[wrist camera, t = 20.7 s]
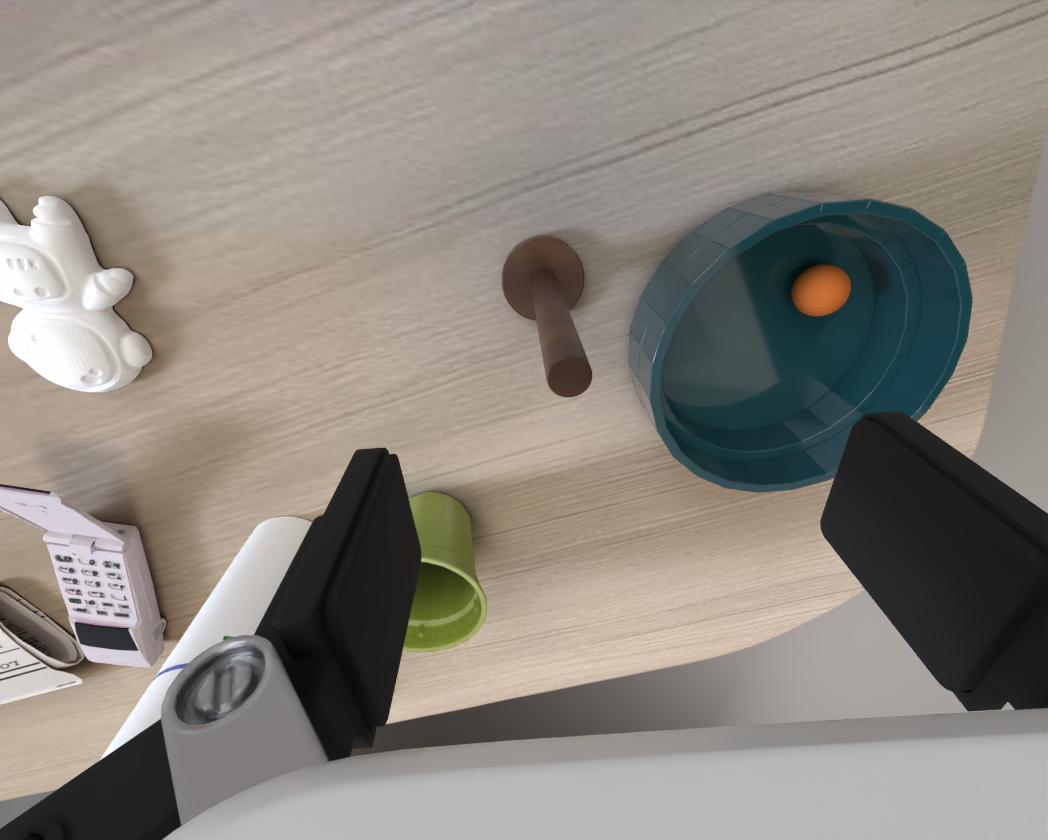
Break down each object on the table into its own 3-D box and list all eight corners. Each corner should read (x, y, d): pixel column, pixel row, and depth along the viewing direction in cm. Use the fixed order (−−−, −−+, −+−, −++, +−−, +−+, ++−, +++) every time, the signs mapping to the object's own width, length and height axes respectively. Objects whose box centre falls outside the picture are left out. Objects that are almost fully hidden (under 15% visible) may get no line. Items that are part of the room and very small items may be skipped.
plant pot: (470, 571, 42) (462, 664, 34) (363, 545, 40) (330, 637, 32) (506, 492, 38) (506, 578, 30) (389, 459, 36) (358, 542, 28)
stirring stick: (500, 236, 28) (493, 309, 15) (583, 234, 28) (648, 304, 15) (503, 319, 31) (501, 441, 18) (581, 316, 31) (634, 435, 18)
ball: (848, 249, 26) (865, 300, 26) (832, 262, 29) (848, 308, 29) (789, 271, 27) (806, 320, 27) (780, 281, 30) (795, 326, 30)
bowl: (632, 203, 27) (662, 215, 22) (931, 179, 27) (1031, 185, 22) (623, 450, 36) (642, 501, 31) (850, 433, 36) (908, 481, 31)
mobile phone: (61, 496, 29) (134, 721, 41) (129, 445, 34) (177, 658, 46) (-48, 481, 28) (59, 714, 40) (39, 431, 34) (111, 650, 45)
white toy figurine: (120, 204, 27) (77, 210, 24) (164, 393, 32) (134, 415, 30) (-54, 176, 26) (-118, 179, 23) (24, 376, 31) (-20, 397, 29)
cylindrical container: (241, 515, 38) (-119, 1006, 16) (332, 517, 38) (100, 1000, 16) (260, 578, 41) (-13, 1050, 20) (343, 579, 42) (165, 1044, 20)
